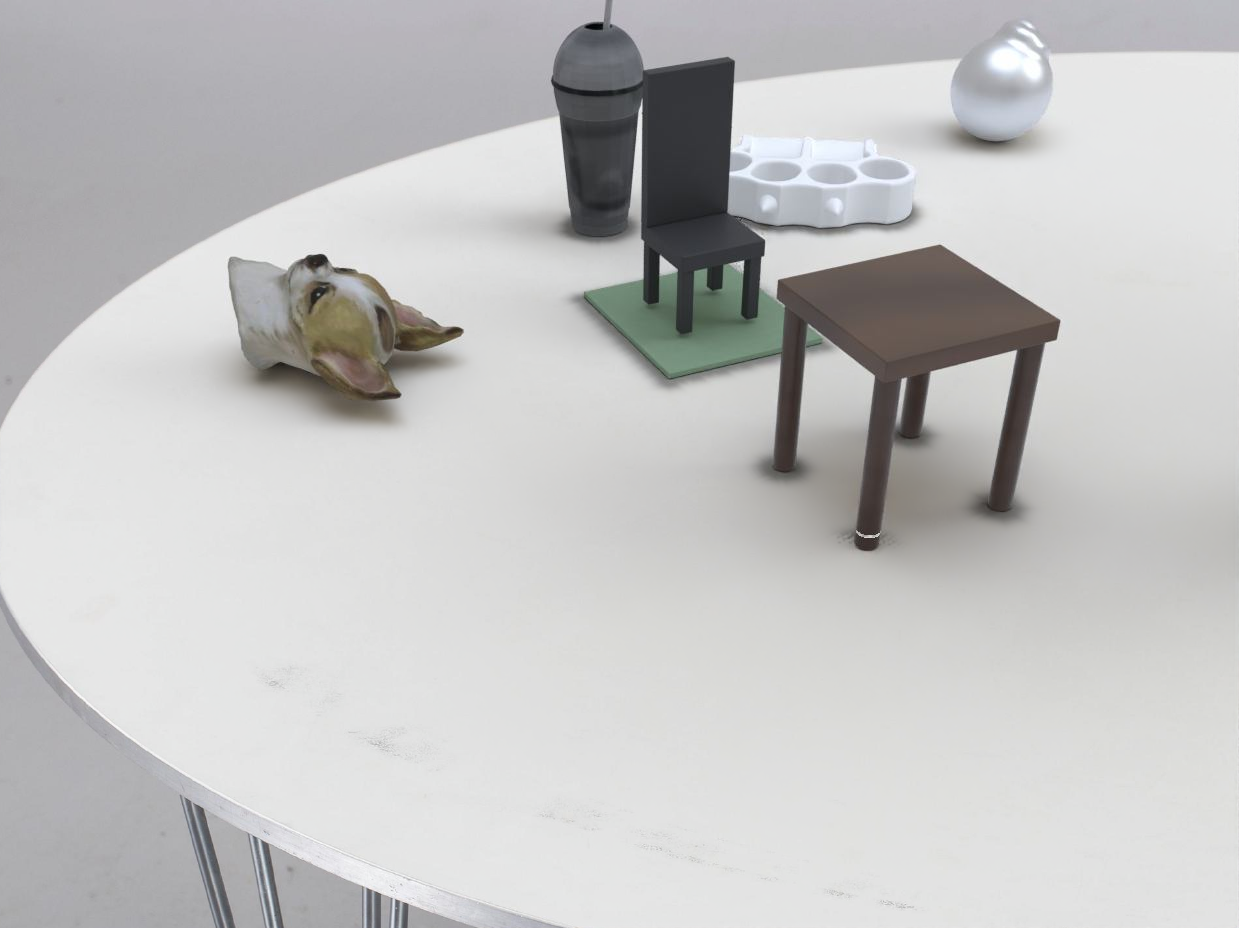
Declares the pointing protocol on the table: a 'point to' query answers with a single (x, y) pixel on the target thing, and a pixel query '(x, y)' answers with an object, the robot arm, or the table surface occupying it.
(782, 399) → the side table
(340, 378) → the ceramic sculpture
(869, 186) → the white brass knuckles
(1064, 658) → the table surface
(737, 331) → the mat
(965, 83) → the white spiral shell
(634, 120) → the beverage cup
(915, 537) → the table surface
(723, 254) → the chair
